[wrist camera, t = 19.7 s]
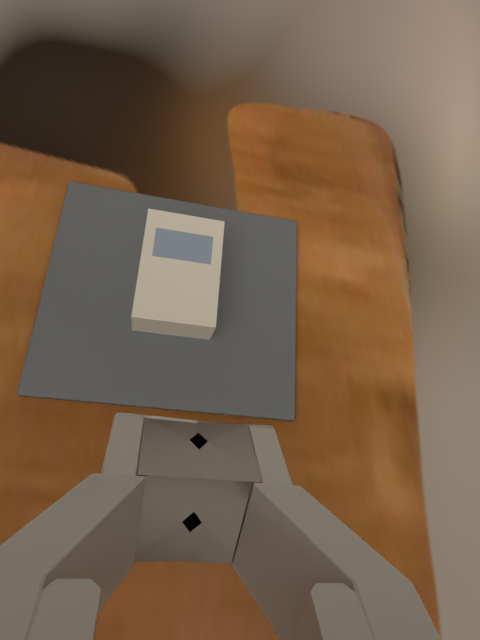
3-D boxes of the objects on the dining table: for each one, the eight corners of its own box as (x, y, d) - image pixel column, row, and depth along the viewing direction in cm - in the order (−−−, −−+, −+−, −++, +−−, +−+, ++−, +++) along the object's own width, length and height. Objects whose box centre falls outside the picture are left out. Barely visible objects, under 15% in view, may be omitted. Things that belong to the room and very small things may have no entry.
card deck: (131, 316, 30) (148, 208, 34) (131, 330, 33) (147, 229, 36) (216, 327, 32) (224, 221, 35) (209, 339, 34) (218, 240, 38)
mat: (18, 395, 30) (16, 394, 30) (70, 185, 37) (69, 181, 37) (292, 421, 34) (294, 420, 33) (295, 224, 40) (296, 221, 40)
